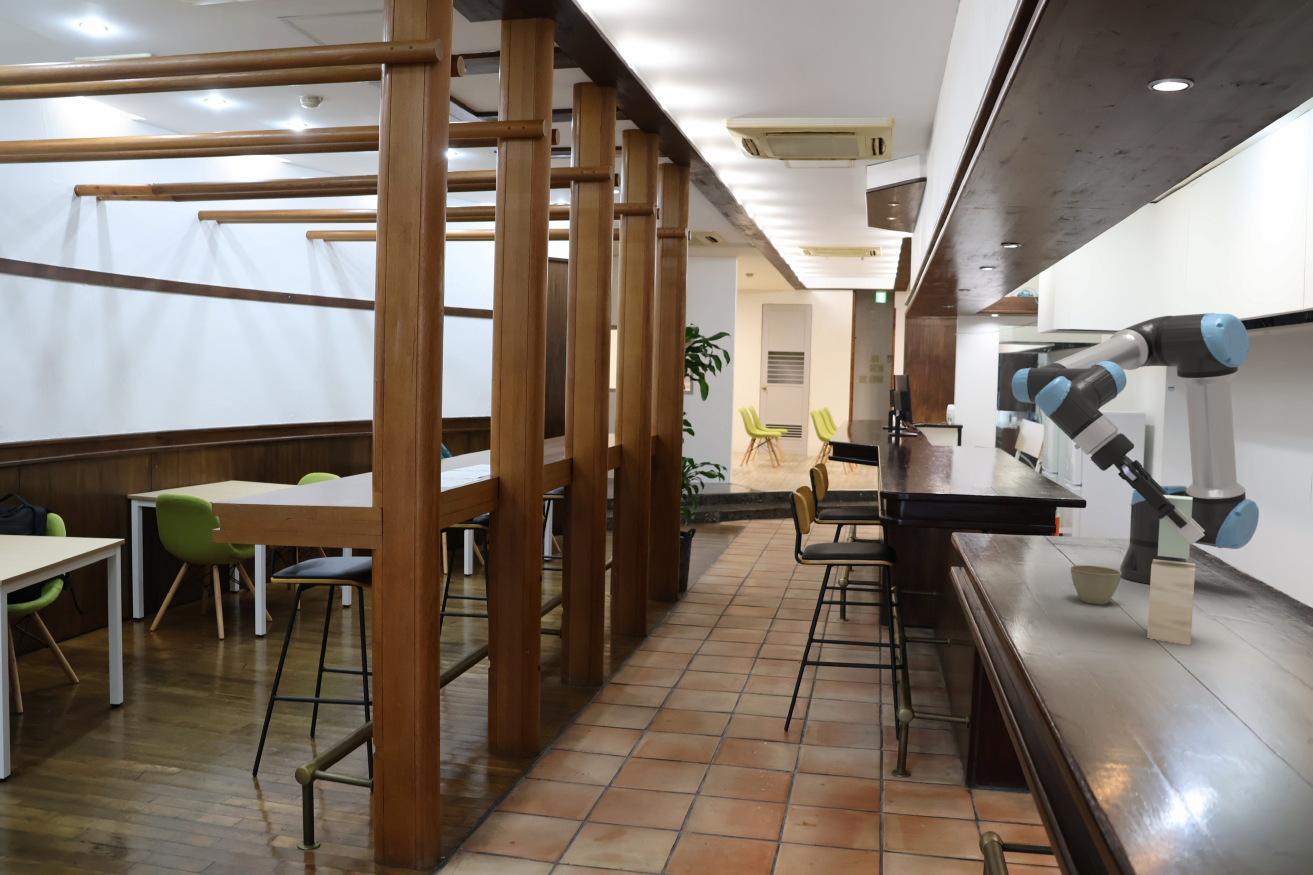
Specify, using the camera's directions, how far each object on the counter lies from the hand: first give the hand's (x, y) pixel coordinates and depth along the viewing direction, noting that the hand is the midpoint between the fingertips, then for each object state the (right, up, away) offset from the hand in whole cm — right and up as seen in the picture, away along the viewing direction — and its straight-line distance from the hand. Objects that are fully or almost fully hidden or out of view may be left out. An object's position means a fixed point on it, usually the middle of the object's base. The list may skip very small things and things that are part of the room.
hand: (1198, 537), depth 164 cm
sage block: (-3, -4, +2) cm, 5 cm away
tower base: (-3, -19, +3) cm, 20 cm away
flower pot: (-4, -18, +30) cm, 35 cm away
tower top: (-3, -12, +3) cm, 13 cm away
